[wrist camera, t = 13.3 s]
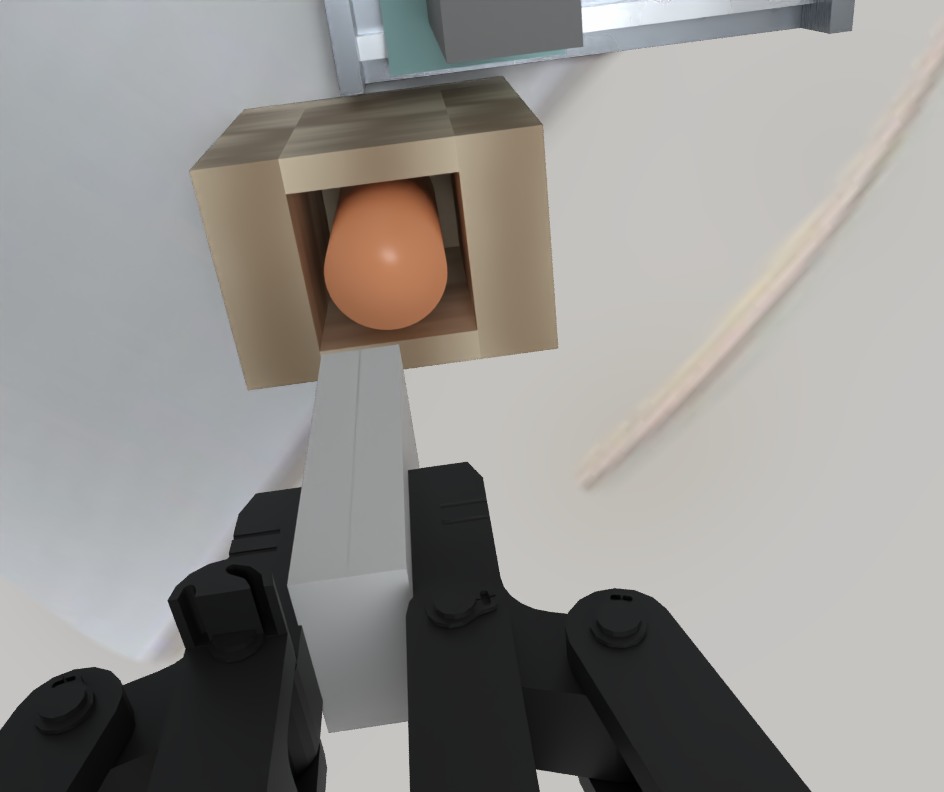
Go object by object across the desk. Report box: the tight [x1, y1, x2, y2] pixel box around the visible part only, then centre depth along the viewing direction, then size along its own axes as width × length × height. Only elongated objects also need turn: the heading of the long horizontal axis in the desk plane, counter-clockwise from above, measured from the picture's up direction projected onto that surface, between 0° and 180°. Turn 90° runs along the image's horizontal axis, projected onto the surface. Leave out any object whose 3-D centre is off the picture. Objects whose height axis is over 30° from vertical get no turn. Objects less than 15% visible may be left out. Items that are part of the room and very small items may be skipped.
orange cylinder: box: [324, 176, 447, 330], centre depth 28 cm, size 4×4×8 cm
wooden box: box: [189, 76, 558, 390], centre depth 30 cm, size 10×7×10 cm
